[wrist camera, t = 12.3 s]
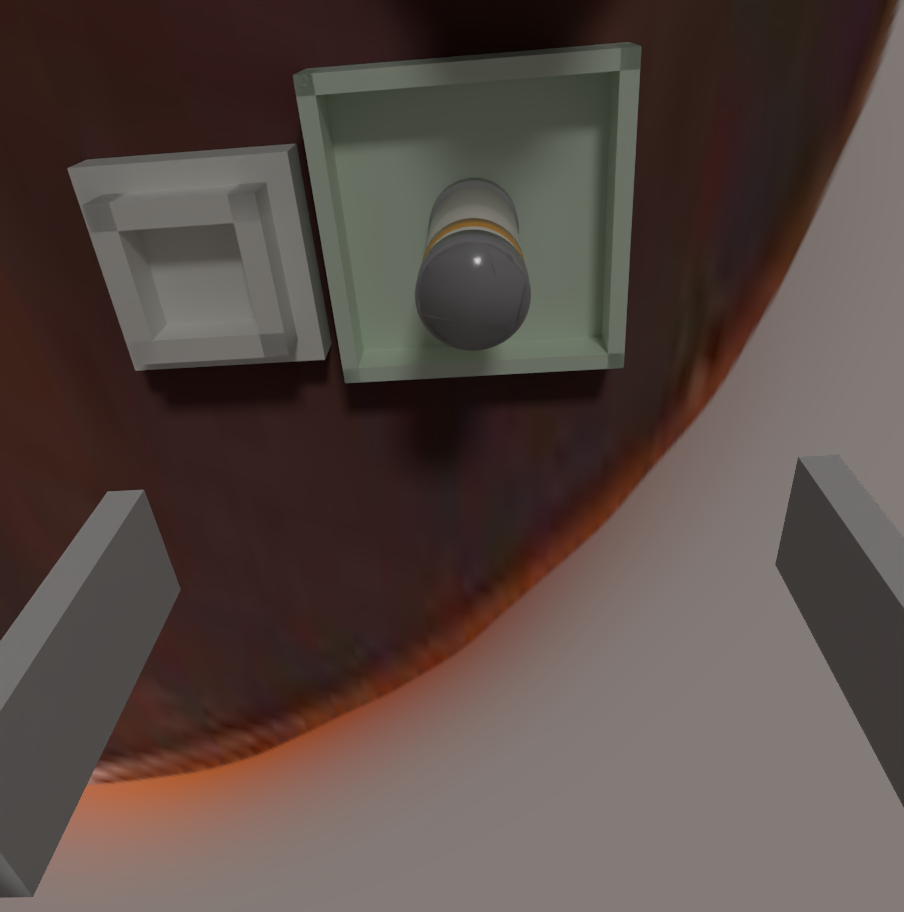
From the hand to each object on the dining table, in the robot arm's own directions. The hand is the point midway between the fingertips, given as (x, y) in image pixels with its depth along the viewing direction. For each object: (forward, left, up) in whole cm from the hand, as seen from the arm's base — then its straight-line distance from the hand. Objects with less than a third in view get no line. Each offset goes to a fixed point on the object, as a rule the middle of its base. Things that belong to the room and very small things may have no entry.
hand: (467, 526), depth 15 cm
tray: (0, 0, -24) cm, 24 cm away
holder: (-13, -1, -24) cm, 27 cm away
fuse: (0, 0, -24) cm, 24 cm away
